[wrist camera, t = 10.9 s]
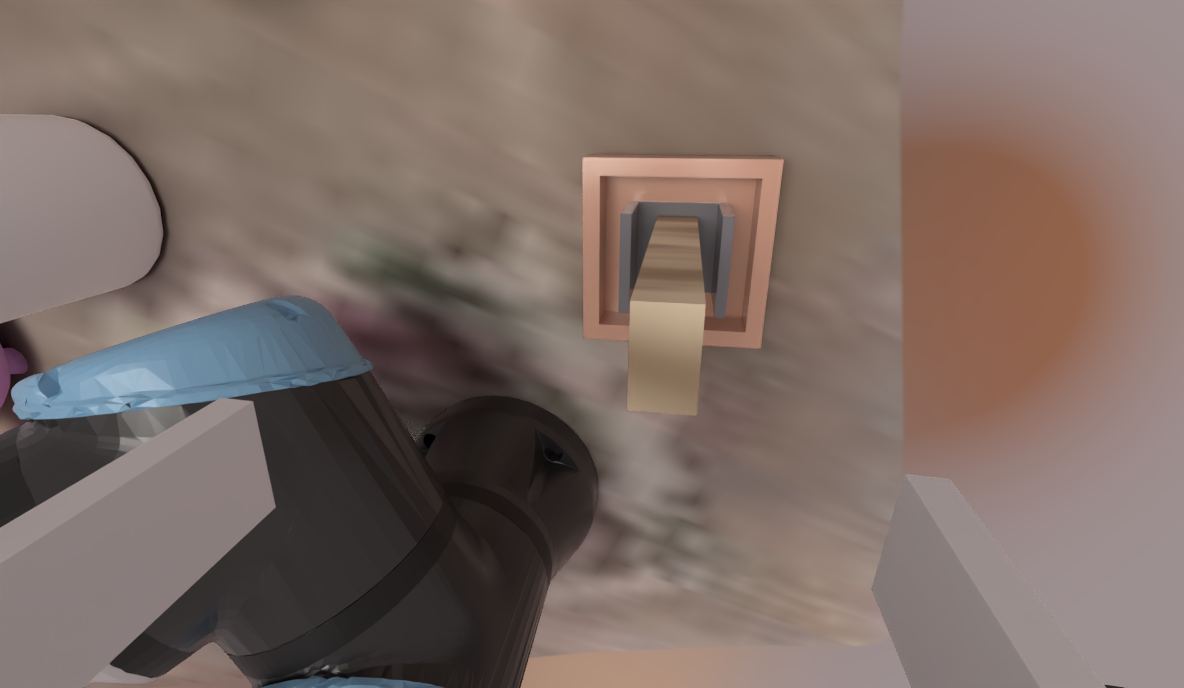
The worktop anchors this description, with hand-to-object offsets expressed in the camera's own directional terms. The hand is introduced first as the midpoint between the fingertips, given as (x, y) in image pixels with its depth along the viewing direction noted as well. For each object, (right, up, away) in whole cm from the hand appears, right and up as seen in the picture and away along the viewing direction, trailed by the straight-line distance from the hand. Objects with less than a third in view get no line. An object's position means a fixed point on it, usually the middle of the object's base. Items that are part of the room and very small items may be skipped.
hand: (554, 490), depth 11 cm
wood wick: (+6, +9, +24) cm, 26 cm away
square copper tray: (+6, +9, +25) cm, 27 cm away
